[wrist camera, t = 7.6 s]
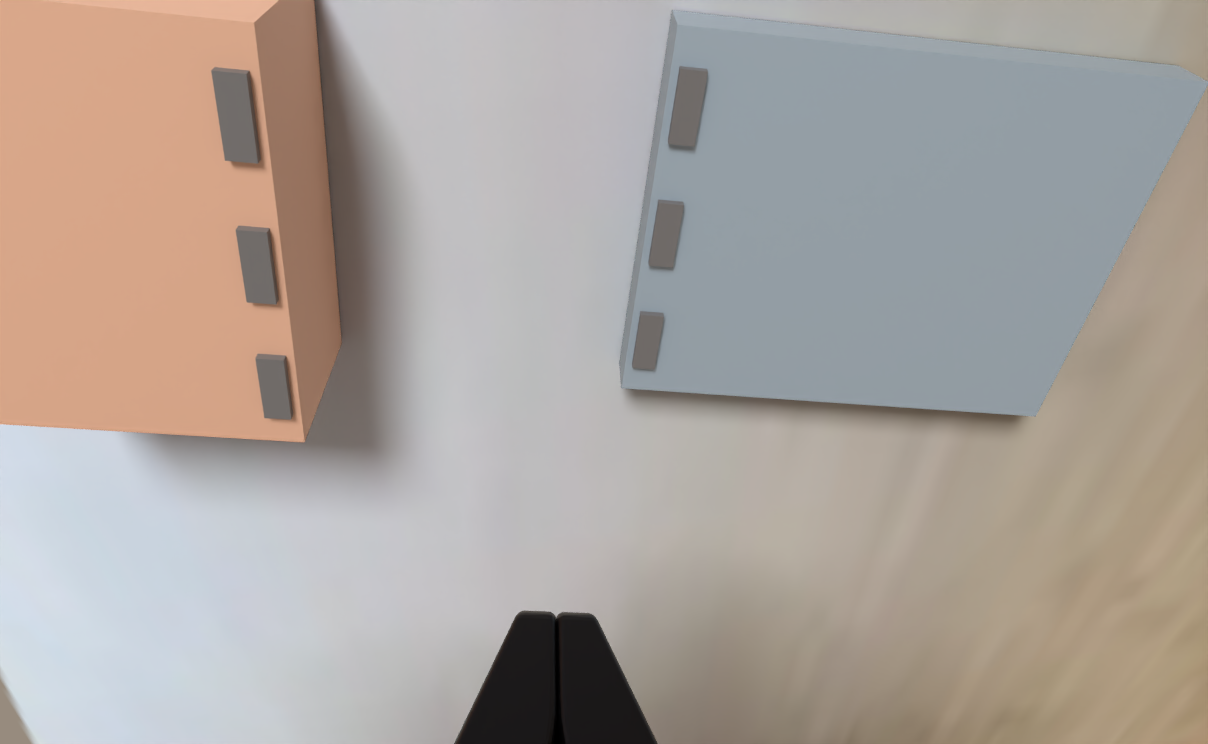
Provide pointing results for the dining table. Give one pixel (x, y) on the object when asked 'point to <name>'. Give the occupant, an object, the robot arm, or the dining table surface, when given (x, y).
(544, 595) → the dining table surface
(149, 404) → the stub
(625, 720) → the robot arm
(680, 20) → the blue-grey flat panel
